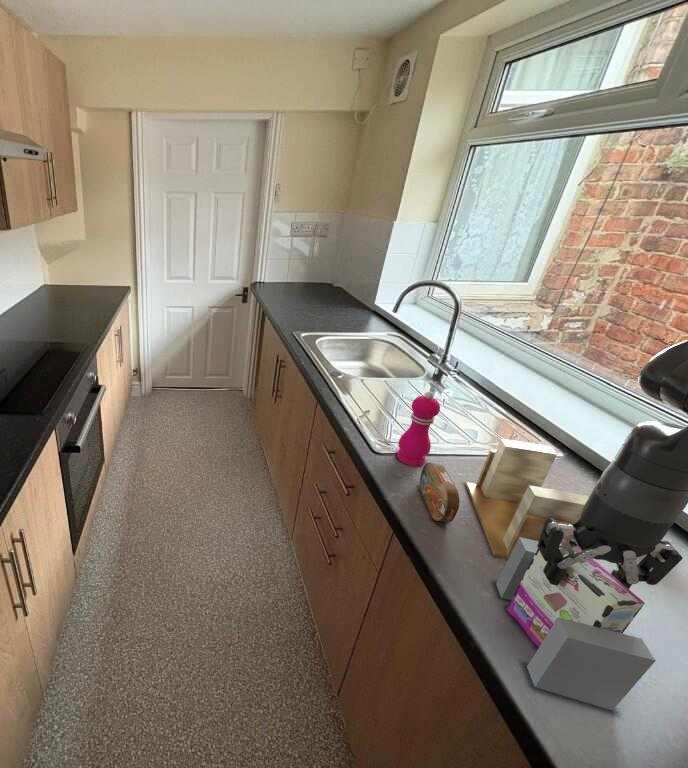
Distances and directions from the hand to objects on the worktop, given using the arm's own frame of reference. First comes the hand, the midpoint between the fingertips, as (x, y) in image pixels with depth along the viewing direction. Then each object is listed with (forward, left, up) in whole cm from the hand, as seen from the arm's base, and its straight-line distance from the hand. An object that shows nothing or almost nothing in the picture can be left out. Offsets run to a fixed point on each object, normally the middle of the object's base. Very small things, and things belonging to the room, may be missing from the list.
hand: (579, 586), depth 61 cm
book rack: (-4, -27, -13) cm, 30 cm away
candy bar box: (0, 0, -13) cm, 13 cm away
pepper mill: (+14, -45, -13) cm, 49 cm away
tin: (+11, -28, -13) cm, 33 cm away
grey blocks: (0, 0, -13) cm, 13 cm away
